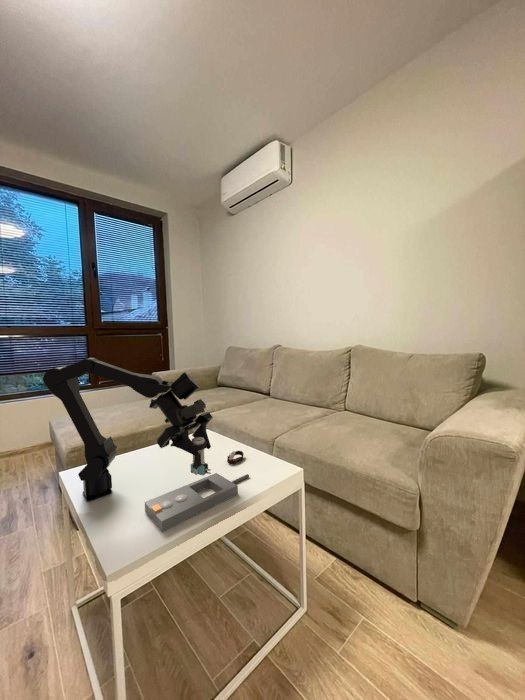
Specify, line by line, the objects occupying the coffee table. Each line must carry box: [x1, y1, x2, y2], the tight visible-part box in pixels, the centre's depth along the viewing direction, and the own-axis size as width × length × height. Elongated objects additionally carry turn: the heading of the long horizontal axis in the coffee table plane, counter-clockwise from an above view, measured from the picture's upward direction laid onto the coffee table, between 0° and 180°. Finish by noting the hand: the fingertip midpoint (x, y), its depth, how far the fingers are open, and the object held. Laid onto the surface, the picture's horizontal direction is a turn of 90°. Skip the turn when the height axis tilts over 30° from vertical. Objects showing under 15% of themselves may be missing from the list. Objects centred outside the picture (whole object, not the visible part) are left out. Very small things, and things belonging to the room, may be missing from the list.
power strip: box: [144, 472, 250, 533], centre depth 80 cm, size 30×11×3 cm, turn 132°
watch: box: [226, 450, 244, 465], centre depth 103 cm, size 8×5×4 cm, turn 149°
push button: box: [190, 437, 212, 476], centre depth 82 cm, size 7×5×10 cm
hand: (204, 451), depth 81 cm, fingers closed on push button, 5 cm apart
